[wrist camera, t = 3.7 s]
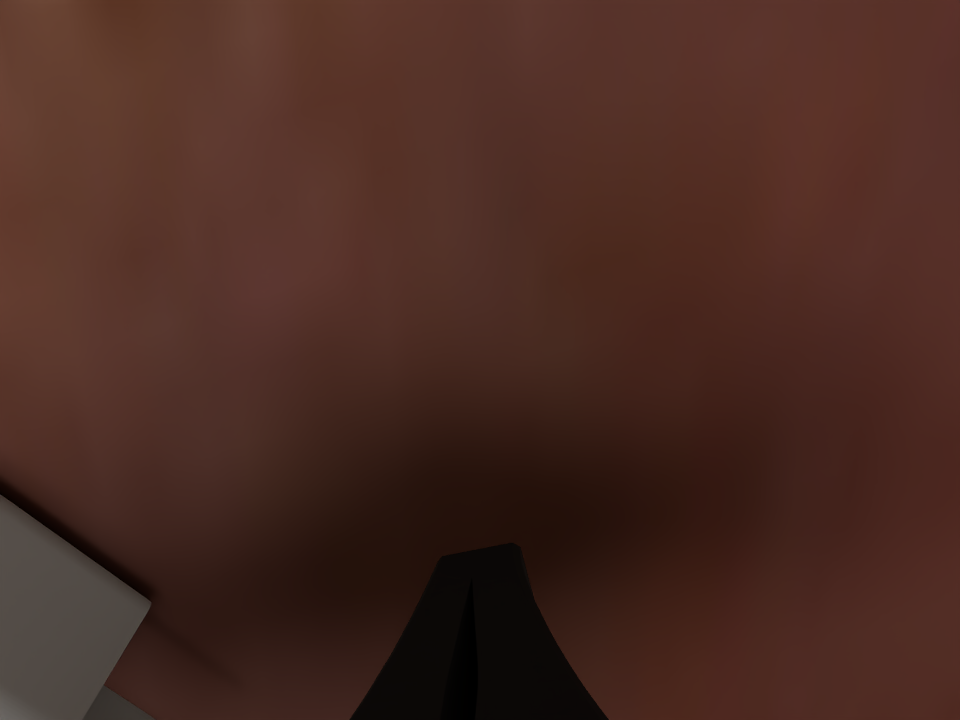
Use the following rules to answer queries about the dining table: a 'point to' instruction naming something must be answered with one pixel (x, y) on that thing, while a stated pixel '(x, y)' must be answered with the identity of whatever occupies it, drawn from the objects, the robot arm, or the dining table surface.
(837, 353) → the dining table surface
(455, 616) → the robot arm
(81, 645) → the usb wall charger
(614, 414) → the dining table surface
